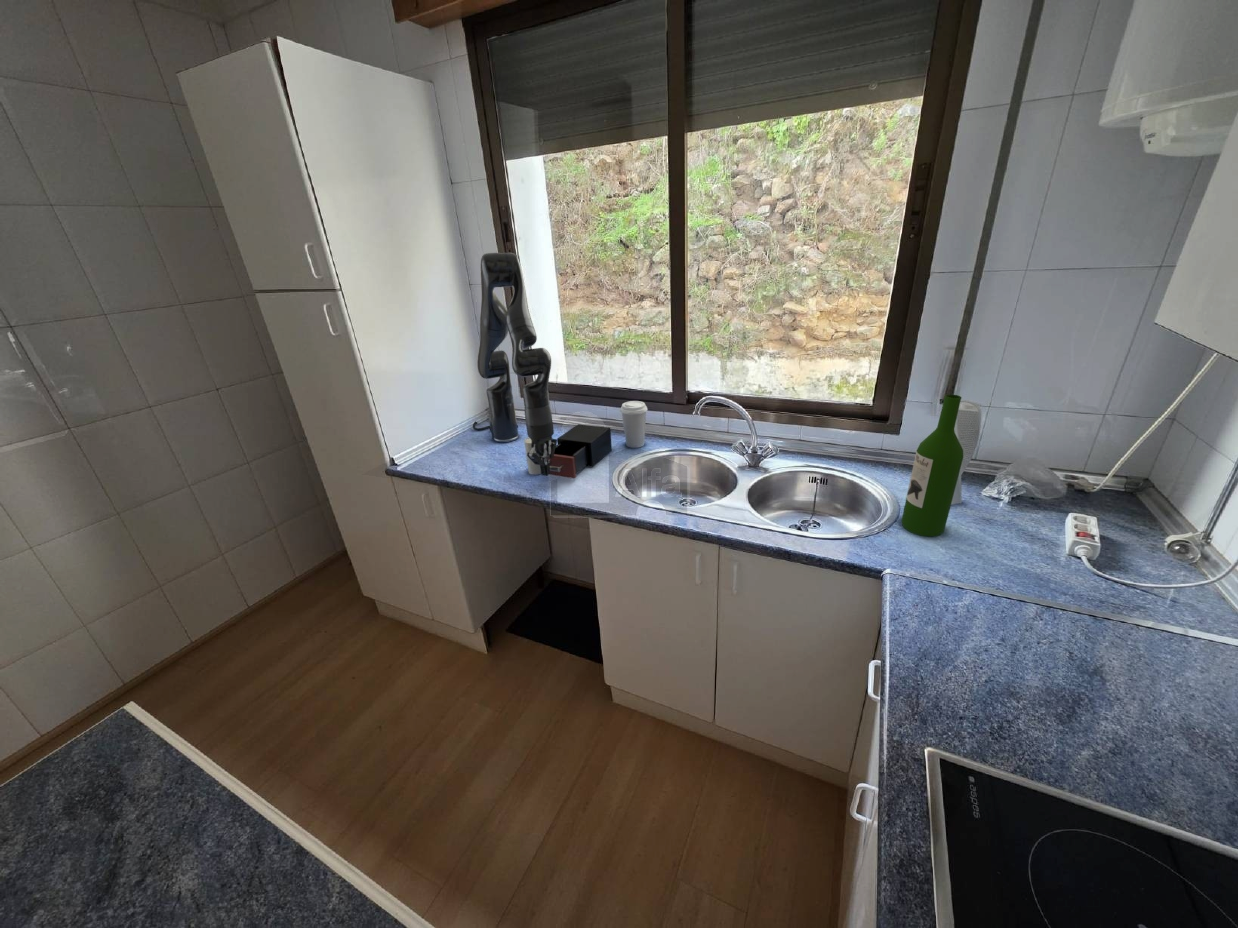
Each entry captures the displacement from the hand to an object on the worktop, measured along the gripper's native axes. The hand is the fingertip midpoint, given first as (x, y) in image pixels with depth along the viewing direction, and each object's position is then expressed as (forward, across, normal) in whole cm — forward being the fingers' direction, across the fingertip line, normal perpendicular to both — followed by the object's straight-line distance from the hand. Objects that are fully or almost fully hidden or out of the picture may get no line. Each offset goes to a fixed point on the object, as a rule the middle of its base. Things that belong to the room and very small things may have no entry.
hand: (545, 474), depth 145 cm
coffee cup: (+4, -40, +12) cm, 42 cm away
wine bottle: (+4, -12, +99) cm, 100 cm away
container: (+4, -9, -10) cm, 14 cm away
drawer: (+3, -11, 0) cm, 11 cm away
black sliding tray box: (+4, -25, 0) cm, 25 cm away
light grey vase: (+4, -28, +105) cm, 109 cm away
